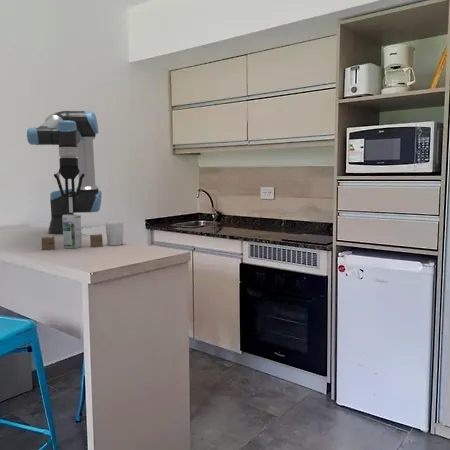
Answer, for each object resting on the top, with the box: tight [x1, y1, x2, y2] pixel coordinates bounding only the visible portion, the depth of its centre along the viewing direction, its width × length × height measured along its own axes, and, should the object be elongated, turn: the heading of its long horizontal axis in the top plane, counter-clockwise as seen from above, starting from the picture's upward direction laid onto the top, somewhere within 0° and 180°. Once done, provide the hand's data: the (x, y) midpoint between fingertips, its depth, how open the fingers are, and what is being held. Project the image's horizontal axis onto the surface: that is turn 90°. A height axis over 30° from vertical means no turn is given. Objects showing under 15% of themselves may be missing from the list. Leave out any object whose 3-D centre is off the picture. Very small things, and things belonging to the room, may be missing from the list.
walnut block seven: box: [41, 236, 56, 251], centre depth 195 cm, size 5×5×5 cm
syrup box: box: [62, 214, 83, 250], centre depth 198 cm, size 6×6×14 cm
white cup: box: [105, 221, 124, 246], centre depth 205 cm, size 8×8×10 cm
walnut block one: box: [89, 233, 104, 248], centre depth 202 cm, size 5×5×5 cm
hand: (71, 212), depth 197 cm, fingers closed
